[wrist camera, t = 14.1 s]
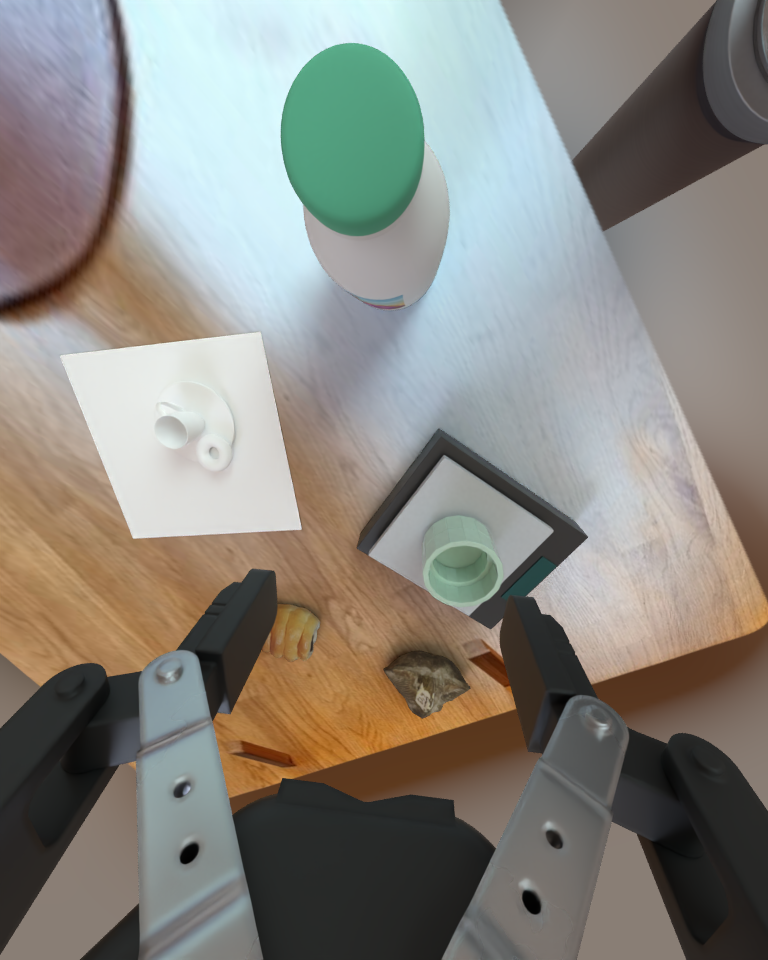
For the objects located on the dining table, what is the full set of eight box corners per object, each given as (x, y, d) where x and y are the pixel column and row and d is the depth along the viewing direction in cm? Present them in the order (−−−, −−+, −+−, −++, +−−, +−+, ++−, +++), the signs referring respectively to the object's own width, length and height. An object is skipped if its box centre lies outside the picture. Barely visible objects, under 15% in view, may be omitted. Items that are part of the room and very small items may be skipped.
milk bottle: (400, 176, 28) (369, -139, 9) (457, 268, 30) (527, 159, 11) (324, 250, 30) (176, 116, 11) (382, 331, 32) (335, 328, 13)
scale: (438, 427, 35) (442, 441, 30) (575, 521, 37) (596, 546, 33) (360, 533, 39) (353, 557, 35) (485, 610, 42) (493, 641, 38)
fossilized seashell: (486, 674, 42) (411, 627, 43) (468, 737, 38) (386, 685, 39) (457, 681, 48) (391, 640, 49) (439, 736, 44) (368, 691, 45)
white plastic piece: (247, 465, 38) (228, 479, 34) (174, 470, 38) (148, 485, 35) (224, 376, 34) (201, 381, 31) (146, 384, 35) (114, 390, 31)
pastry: (243, 633, 46) (229, 658, 43) (246, 590, 44) (231, 613, 40) (317, 649, 46) (308, 675, 43) (323, 606, 44) (315, 630, 40)
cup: (450, 500, 32) (455, 526, 28) (506, 537, 33) (520, 568, 29) (408, 549, 34) (407, 581, 30) (462, 583, 35) (469, 619, 31)
